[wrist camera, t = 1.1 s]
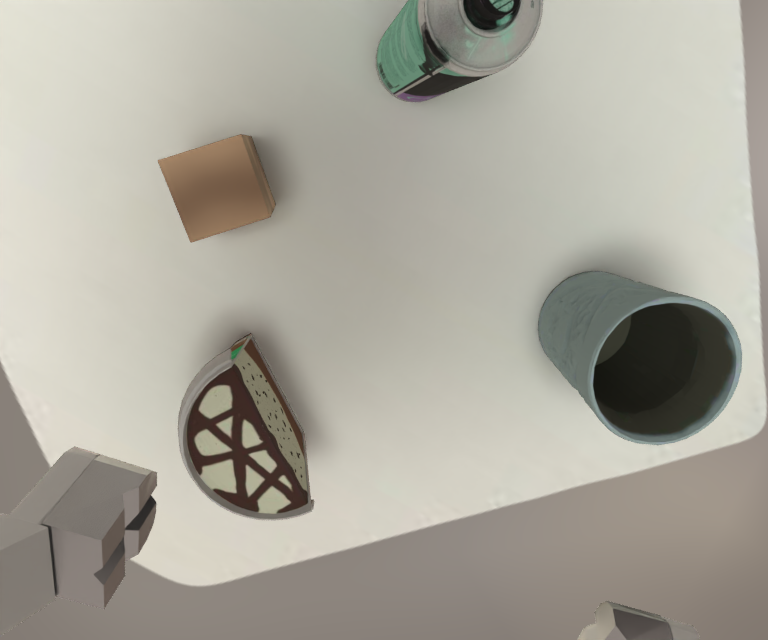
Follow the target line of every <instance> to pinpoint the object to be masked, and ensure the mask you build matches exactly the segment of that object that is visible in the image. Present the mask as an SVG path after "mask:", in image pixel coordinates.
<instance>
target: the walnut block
mask: <svg viewBox="0 0 768 640" xmlns="http://www.w3.org/2000/svg"><path fill="white" fill-rule="evenodd" d="M158 163H159V165H160V168H161V170H162V173H163V175H164V177H165V180H166V182H167V185H168V187H169V190H170V192H171V195H172V197H173V200H174V202H175V205H176V207H177V210H178V212H179V215H180V217H181V220H182V222H183V225H184V227H185V230H186V232H187V235H188V237H189V240H190V242H194V241H197V240H201V239H204V238H207V237H210V236H213V235H216V234H219V233H222V232H226V231H229V230H232V229H235V228H238V227H241V226H244V225H247V224H250V223H254V222H257V221H260V220H263V219H266V218H269V217H271V214H272V212H273V210H274V208H275V202H274V199H273V196H272V194H271V191H270V188H269V185H268V182H267V179H266V176H265V174H264V171H263V168H262V165H261V162H260V159H259V157H258V154H257V151H256V148H255V145H254V142H253V140H252V137H251V136H247V135H242V134H240V135H237V136H234V137H231V138H227V139H224V140H221V141H218V142H215V143H212V144H208V145H205V146H202V147H199V148H196V149H193V150H189V151H186V152H183V153H180V154H177V155H174V156H170V157H167V158H164V159H161V160H158Z"/></svg>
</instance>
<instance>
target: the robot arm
mask: <svg viewBox="0 0 768 640" xmlns="http://www.w3.org/2000/svg"><path fill="white" fill-rule="evenodd" d="M156 486H157V472H154V471H151V470H148V469H145V468H142V467H139V466H136V465H132V464H129V463H126V462H123V461H120V460H117V459H114V458H110V457H107V456H104V455H101V454H97V453H94V452H91V451H88V450H84V449H81V448H78V447H73V448H71V449H70V450H68V451H66V452H65V453H64V454H63V455H62V456H61V457H60V458H59V459H58V460H57V462H56V463H55V464H54V465H53V466H52V467H51V468H50V469H49V471H48V472H47V473H46V474H45V475H44V476H43V477H42V478H41V480H40V481H39V482H38V483H37V484H36V485H35V486H34V488H33V489H32V490H31V491H30V492H29V493H28V494H27V495H26V496H25V498H24V499H23V500H22V501H21V502H20V503H19V504H18V505H17V506H16V508H15V509H14V510H13V511H12V512H11V513H10V514H9V515H6V514H2V513H0V636H1V635H3V634H5V633H6V632H8V631H9V630H11V629H12V628H14V627H15V626H17V625H18V624H20V623H21V622H23V621H24V620H26V619H27V618H29V617H30V616H31V615H33V614H35V613H36V612H38V611H39V610H41V609H42V608H44V607H45V606H47V605H48V604H50V603H51V602H53V601H54V600H55V599H56V597H60V598H63V599H67V600H71V601H75V602H79V603H83V604H86V605H90V606H94V607H98V608H101V609H105V607H106V606H107V604H108V602H109V601H110V599H111V598H112V596H113V594H114V593H115V591H116V590H117V588H118V586H119V585H120V583H121V582H122V580H123V578H124V577H125V561H127V560H129V559H130V558H132V557H134V556H136V555H138V554H139V552H140V550H141V549H142V547H143V545H144V544H145V542H146V540H147V538H148V535H149V533H150V531H151V528H152V526H153V523H154V518H155V514H156V501H155V500H154V499H153V497H152V496H151V494H152V492H153V491H154V489H155V488H156ZM55 596H56V597H55ZM595 618H596V623H594V624H591V625H589V626H586V627H584V629H583V631H582V632H581V634H580V636H579V637H578V640H700V637H699V634H698V632H697V630H696V629H695V628H694V626H692V625H689V624H685V623H682V622H679V621H675V620H672V619H668V618H665V617H661V616H660V615H657V614H653V613H649V612H646V611H642V610H638V609H635V608H631V607H627V606H624V605H620V604H616V603H613V602H609V601H605V602H603V603H601V604H600V605H599V607H598V608H597V610H596V611H595Z"/></svg>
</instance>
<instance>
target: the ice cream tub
mask: <svg viewBox="0 0 768 640" xmlns="http://www.w3.org/2000/svg"><path fill="white" fill-rule="evenodd" d="M178 437H179V446H180V452H181V456H182V459H183V462H184V465H185V467H186V469H187V471H188V473H189V475H190V477H191V478H192V479H193V481H194V482H195V483H196V485H197V486H198V487H199V489H200V490H201V491H202V492H203V493H204V494H205V495H206V496H207V497H208V498H209V499H210V500H212V501H213V502H215V503H216V504H217V505H219V506H220V507H222V508H224V509H226V510H228V511H230V512H232V513H234V514H237V515H240V516H243V517H247V518H252V519H258V520H283V519H289V518H294V517H298V516H301V515H304V514H307V513H309V512H312V510H313V507H314V499H313V500H311V496H310V486H309V476H308V465H307V455H306V445H305V434H304V432H303V430H302V428H301V426H300V424H299V422H298V420H297V419H296V417H295V415H294V413H293V411H292V409H291V407H290V406H289V404H288V402H287V400H286V398H285V396H284V394H283V392H282V391H281V389H280V387H279V385H278V383H277V381H276V379H275V377H274V376H273V374H272V372H271V370H270V368H269V366H268V364H267V362H266V361H265V359H264V357H263V355H262V353H261V351H260V349H259V348H258V346H257V344H256V342H255V340H254V338H253V336H252V334H251V333H250V334H249V335H247V336H245V337H243V338H242V339H240V340H238V341H237V342H236V343H235V344H234V345H233V346H232V347H231V348H230V349H228V350H226V351H225V352H223V353H221V354H219V355H218V356H216V357H215V358H214V359H213V360H211V361H210V362H209V363H207V364H206V365H205V366H204V367H203V368H202V369H201V371H200V372H199V373H198V374H197V375H196V376H195V378H194V379H193V381H192V382H191V384H190V385H189V387H188V388H187V391H186V393H185V395H184V398H183V400H182V403H181V407H180V411H179V418H178Z"/></svg>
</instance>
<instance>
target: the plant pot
mask: <svg viewBox="0 0 768 640" xmlns="http://www.w3.org/2000/svg"><path fill="white" fill-rule="evenodd" d="M538 331H539V338H540V342H541V345H542V347H543V349H544V351H545V353H546V355H547V356H548V357H549V359H550V360H551V361H552V362H553V363H554V365H555V366H556V367H557V368H558V369H559V370H560V371H561V373H562V374H563V376H564V377H565V378H566V379H567V380H568V382H569V383H570V384H571V385H572V386H573V387H574V388H575V389H577V390H578V392H579V394H580V395H581V396H582V397H583V398H584V400H585V402H586V403H587V404H588V405H589V407H590V408H591V409H592V410H593V412H594V413H595V414H596V416H597V417H598V418H599V420H600V421H601V422H602V423H603V424H604V425H605V426H606V427H607V428H608V429H609V430H610V431H612V432H613V433H614V434H616V435H617V436H619V437H621V438H623V439H625V440H628V441H631V442H635V443H640V444H652V445H662V444H668V443H674V442H677V441H680V440H683V439H686V438H688V437H690V436H692V435H694V434H696V433H698V432H699V431H701V430H702V429H704V428H705V427H706V426H708V425H709V424H710V423H711V422H712V421H713V420H715V419H716V418H717V417H718V416H719V414H720V413H721V412H722V411H723V410H724V408H725V407H726V405H727V404H728V402H729V401H730V399H731V398H732V396H733V393H734V391H735V389H736V387H737V384H738V380H739V377H740V373H741V366H742V351H741V344H740V341H739V338H738V335H737V332H736V330H735V329H734V327H733V325H732V324H731V322H730V321H729V319H728V318H727V317H726V316H725V315H724V314H723V313H722V312H721V311H720V310H719V309H717V308H716V307H714V306H712V305H710V304H709V303H707V302H705V301H702V300H699V299H696V298H692V297H689V296H686V295H682V294H678V293H674V292H669V291H666V290H663V289H660V288H657V287H654V286H650V285H647V284H644V283H641V282H635V281H633V280H630V279H627V278H623V277H620V276H617V275H614V274H610V273H607V272H600V271H590V272H585V273H581V274H578V275H574V276H572V277H570V278H568V279H566V280H565V281H563V282H562V283H561V284H560V285H558V286H557V287H556V288H555V289H554V290H553V291H552V293H551V294H550V295H549V297H548V298H547V299H546V301H545V303H544V305H543V307H542V310H541V313H540V317H539V324H538Z"/></svg>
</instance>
